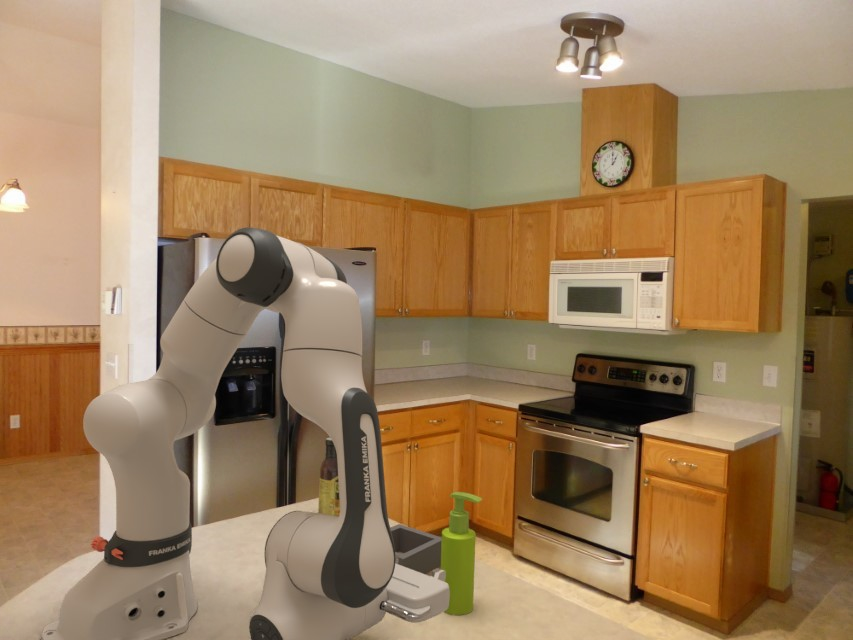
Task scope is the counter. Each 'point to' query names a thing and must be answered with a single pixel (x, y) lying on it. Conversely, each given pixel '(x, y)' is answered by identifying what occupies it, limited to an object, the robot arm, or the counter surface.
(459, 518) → the soap dispenser
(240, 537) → the counter surface
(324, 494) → the sauce bottle
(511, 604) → the counter surface
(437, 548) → the collar board
